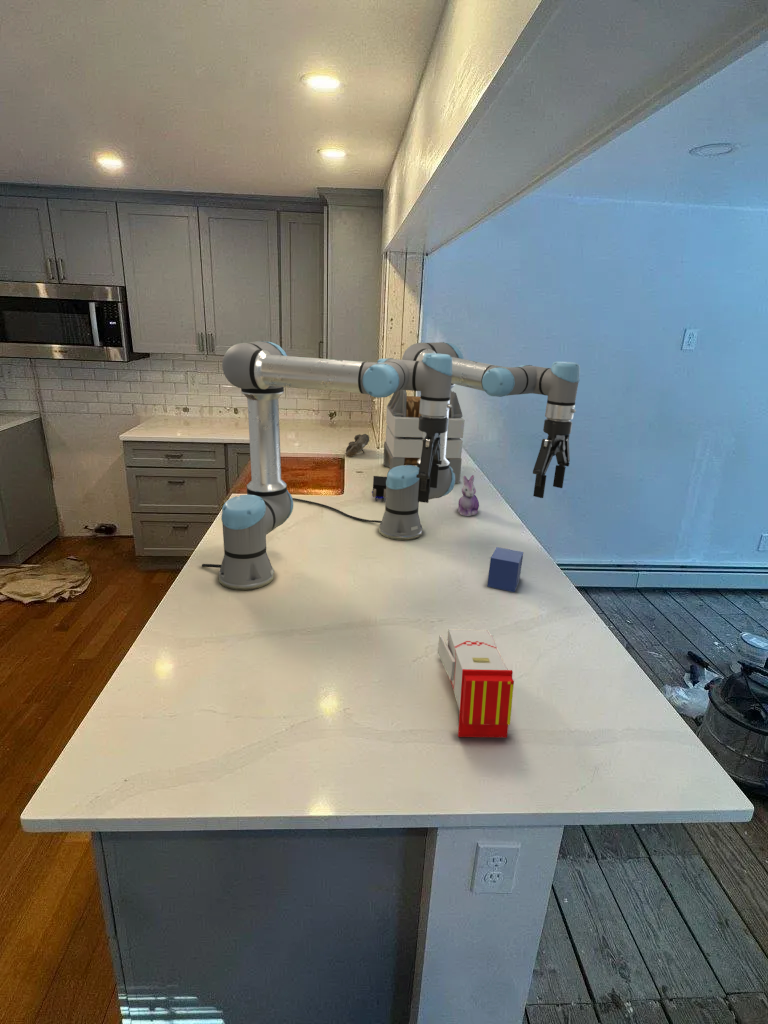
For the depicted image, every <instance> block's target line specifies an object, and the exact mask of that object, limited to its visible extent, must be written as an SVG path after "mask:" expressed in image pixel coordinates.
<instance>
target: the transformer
mask: <svg viewBox="0 0 768 1024" xmlns="http://www.w3.org/2000/svg"><path fill="white" fill-rule="evenodd" d="M407 394H408V393H407V390H399V391H397V392H395V393H393V394H392V395H391V398H390V400H389V402H388V404H387V405H386V413H385V414H386V415H385V423H386V428H385V438H384V442H383V466H384V467H388V468H389V470H390V469H392V468H394V467H397V466H401V465H404V466H406V465H413V466H417V460H418V459H419V458H420V457H421V454H422V441H423V432H422V431H420V430H419V429H418V426H419V417H420V416H421V414H420V413H419V408H420V397H421V396H415V395H414V396H413V395H412V396H411V395H407ZM450 404H451V406H452V407H451V408H449V419H448V433H447V447H446V459H447V460H448V461H449V462H450V465H449V466H450V467H451V468H452V469H453V473H454V474H455V484H459V483H461V472H462V461H463V460H462V453H463V442H464V441H463V440H462V439H463V438H464V431H465V430H464V429H465V419H464V418H463V411H462V408H461V405H460V402H459V398H458V395H457V392H455V391H453V390H451V392H450Z"/></svg>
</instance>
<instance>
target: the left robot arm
mask: <svg viewBox="0 0 768 1024" xmlns="http://www.w3.org/2000/svg"><path fill="white" fill-rule="evenodd" d="M221 367H222V372H223V375H224V376H225V378H226V380H227V381H228V382H229V383H230V384H231V385H232V386H234V387H236V388H238V389H241V393H242V394H243V395H244V397H246V399H247V417H248V433H249V434H248V435H249V455H250V457H249V458H250V474H251V480H250V481H249V482H248V483H247V485H246V494H240V495H238V496H233V497H231V498H229V499H227V500H226V501H225V502H224V504H223V505H222V507H221V510H222V511H221V524H222V541H223V557H222V561H221V564H218V563H217V564H216V563H202V564H201V567H202V568H218V569H219V571H218V581H219V583H220V584H221V585H222V586H223V587H224V588H228V589H231V590H236V591H237V590H238V591H249V590H255V589H259V588H263V587H265V586H267V585H269V584H270V583H271V582H272V581H273V580H274V577H275V573H274V572H275V570H274V567H273V566H272V563H271V560H270V557H269V554H268V552H267V535H268V534H270V533H271V532H272V531H274V530H275V529H277V528H279V527H280V526H282V525H283V524H284V523H285V522H287V520H288V519H289V518H290V517H291V515H292V513H293V510H294V500H293V499H292V498H293V496H292V494H291V493H290V492H289V490H288V486H287V483H286V482H285V481H284V480H283V479H282V461H281V459H282V458H281V432H280V430H281V429H280V405H279V403H280V402H279V401H280V400H279V399H280V397H281V396H282V395H283V394H284V392H285V389H284V388H290V389H291V388H293V389H304V390H305V389H306V390H316V391H329V392H339V393H340V392H341V393H352V394H363V395H368V396H371V397H373V398H376V399H378V398H379V399H380V398H388V397H390V396H392V395H393V394H394V393H395V392H397V391H399V390H406V391H413V392H420V396H419V397H420V408H419V413H420V414H421V416H420V417H419V426H418V429H419V430H420V431H422V432H425V433H426V437H425V438H424V439H423V446H422V454H421V460H420V467H419V474H417V476H416V477H417V478H419V491H418V502H419V503H424V504H425V503H426V504H429V490H430V487H431V488H437V481H438V469H439V465H437V464H440V465H441V464H442V461H440V459H441V458H440V435H441V433H445V432H446V431H447V427H448V418H447V417H446V416H447V415H448V413H449V408H451V407H452V406H451V404H449V400H450V391H452V389H451V381H452V374H453V373H452V357H451V356H450V355H447V354H437V353H436V354H434V353H427V354H424V356H423V359H422V361H411V360H402V359H397V358H392V357H388V358H379V359H378V360H377V361H360V360H346V359H334V358H333V359H332V358H320V357H307V356H306V357H305V356H292V355H288V354H287V353H286V351H285V350H284V349H283V347H282V346H280V345H279V344H277V343H275V342H272V341H265V340H257V341H250V342H240V343H236V344H234V345H232V346H230V347H229V348H228V349H227V350H226V352H225V353H224V355H223V358H222V362H221ZM423 472H424V473H423Z"/></svg>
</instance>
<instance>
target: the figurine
mask: <svg viewBox="0 0 768 1024" xmlns="http://www.w3.org/2000/svg"><path fill="white" fill-rule="evenodd" d="M462 481H463V486H462V488H461V493H462V495H461V497H460V498H459V499H458V508H457V513H459V515H461V516H464V517H470V516H475V515H476V514H478V512H479V509H480V503H479V499H478V497H477V495H476V492H477V490H476V487H475V485H474V481H475V475H473V474H472V475H471V476H470V478H469V479H468V478H467V476H466V475H463V476H462Z"/></svg>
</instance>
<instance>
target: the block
mask: <svg viewBox="0 0 768 1024" xmlns="http://www.w3.org/2000/svg"><path fill="white" fill-rule="evenodd" d="M523 558H524V551H521V550H515V549H509V548H505V547H498V546H496V547H495V549H494V550H493V552H492V554H491V556H490V560H489V569H488V577H487V584H486V587H488V588H492V589H496V590H502V591H506V592H510V593H511V592H512V593H516V591H517V588H518V585H519V583H520V580H521V574H522V566H523Z"/></svg>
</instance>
